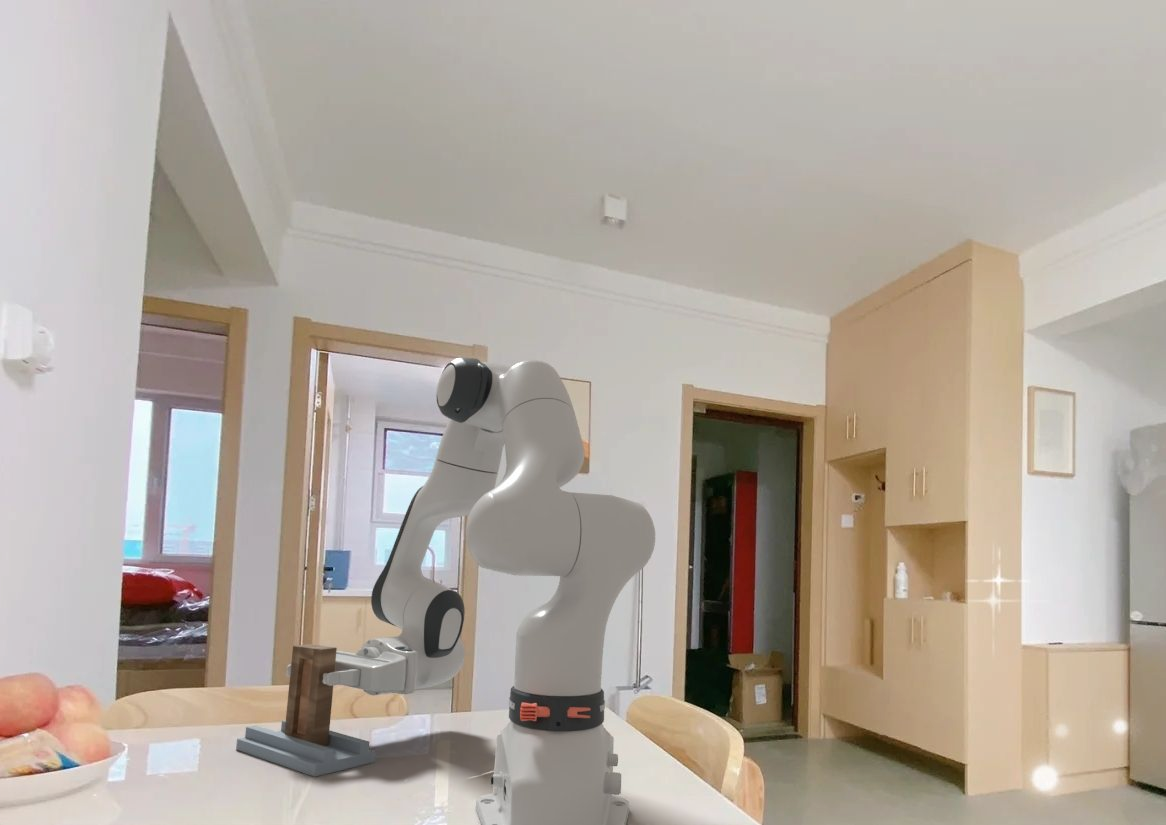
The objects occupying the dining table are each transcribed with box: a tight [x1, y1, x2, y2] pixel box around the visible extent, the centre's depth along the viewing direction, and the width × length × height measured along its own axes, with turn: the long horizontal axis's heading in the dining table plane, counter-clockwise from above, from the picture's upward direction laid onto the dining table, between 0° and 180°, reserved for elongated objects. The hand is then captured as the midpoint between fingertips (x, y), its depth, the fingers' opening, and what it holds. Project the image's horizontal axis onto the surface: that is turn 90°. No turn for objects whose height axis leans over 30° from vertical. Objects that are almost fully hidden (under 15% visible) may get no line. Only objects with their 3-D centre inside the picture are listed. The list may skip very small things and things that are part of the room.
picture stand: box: [235, 719, 376, 778], centre depth 111 cm, size 20×10×3 cm, turn 53°
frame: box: [284, 643, 338, 747], centre depth 113 cm, size 6×3×14 cm, turn 62°
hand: (306, 675), depth 112 cm, fingers open, 8 cm apart
